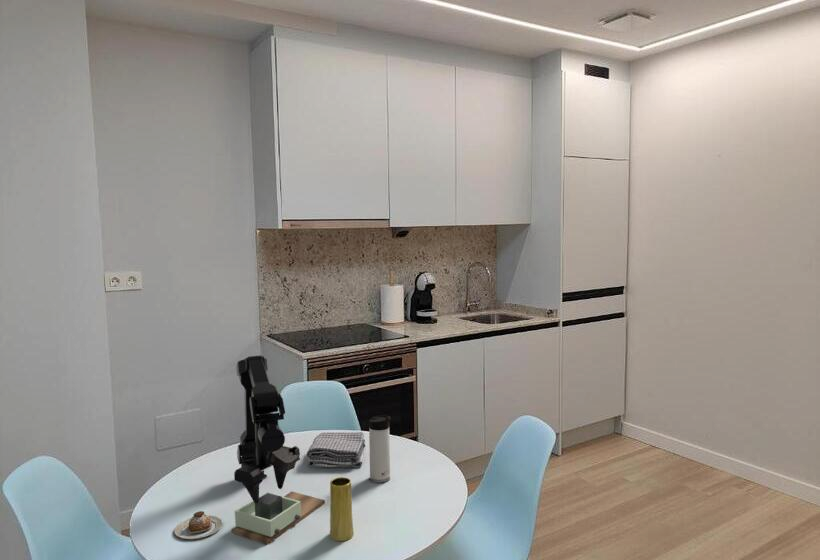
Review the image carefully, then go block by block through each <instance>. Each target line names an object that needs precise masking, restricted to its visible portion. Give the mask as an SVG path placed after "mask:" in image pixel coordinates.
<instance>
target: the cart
mask: <svg viewBox="0 0 820 560" xmlns="http://www.w3.org/2000/svg"><path fill="white" fill-rule="evenodd" d="M267 493H268V492H264V493H263V494H261V495H259V498H260V497H261V496H263V495H265V494H267ZM269 493H270V492H269ZM270 494H272V493H270ZM273 494H274V493H273ZM274 495H276V494H274ZM277 495H278V494H277ZM278 496H281V497H282V509H283V512H282V513H280V514H279V515H277V516H276V517H274V518H273V519H271V520H268V519H265V518H262V517H258V516H255V503H254V501H253V500H251V501H249V502H247V503H246V504H245V505H243V506H241V507H239V508H237V509H236V510H235V511H234V524H235V527H236V526H237V527H241V528H244V529H247V530H250V531H253V532H257V533H260V534H263V535H266V536H269V537H272V536H273V535H275V534H279V533H280V530H282V529H283V528H284V527H286V526H287V525H289V524H290V523H292V522H293V521H294V520H296V519H297V520H299V519H300V516H301V501H297V500H294V499H290V498H286V497H284V496H282V495H278Z"/></svg>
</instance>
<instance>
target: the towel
mask: <svg viewBox="0 0 820 560" xmlns="http://www.w3.org/2000/svg"><path fill="white" fill-rule="evenodd" d="M364 437H365V435H364V433H363V432H362V431H356V432H334V431H333V432H329V431H326V432H321V433H319V434H318V435H317V436H315V438H313V441H312V443H311V444H310V446H309V448H308V450H307V452H306V457H307V458H308V460H307V464H306V466H307V467H310V468H315V469H316V468H319V469H320V468H322V469H323V468H324V469H325V468H327V469H329V468H356V467H358V469H359V468H361V467H362V465H363V463H364V458H365V455H366V444H365V442H366V439H365V438H364Z"/></svg>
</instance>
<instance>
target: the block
mask: <svg viewBox="0 0 820 560" xmlns="http://www.w3.org/2000/svg"><path fill="white" fill-rule="evenodd" d="M262 495H263V494H262ZM260 496H261V495H260ZM281 496H282V495H279V496H278V494H275V495H274V493H271V494H270V492H267V494H265V495H263V496H261V497H260V498H259V502H258V503H255V516H258V517H262V518H265V519H268V520H271V519H273V518H274V517H276V516H277V515H279V514H280V513H282V512H283V509H282V497H283V496H282V497H281Z"/></svg>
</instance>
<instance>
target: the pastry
mask: <svg viewBox="0 0 820 560" xmlns="http://www.w3.org/2000/svg"><path fill="white" fill-rule="evenodd" d="M223 523H224V521H223V520H222V519H221V518H220V517H218V516H216V515H210V514H209V515H207V514H206V513H205V511H201V510H200V511H197V512H195V513H193V516H192V517H189V518H187V519H185V520H184V521H182V522H180V523H179V524H177V525H176V527H175V528H174V530H173V531H174V532H173V533H174V534H175V536H176V537H177V538H180V539H183V540H191V541H194V540H196V539H197V540H198V539H203V538H205V537H209V536H211V535H214V534H215V533H217V532H218V531H219V530H221V528H222V527H223V525H224V524H223ZM213 524H215V525H214V528H213V530H211V531H210V532H208V533H206V534H203V535H199V536H190V535H189V536H187V535H185V534H184V529H185V528H186V530H187V532H189V533H190V534H192V535H193V534H200V533H201V534H202V533H204V532H207V531H209V530H210V529H211V528H212V527H213Z"/></svg>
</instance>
